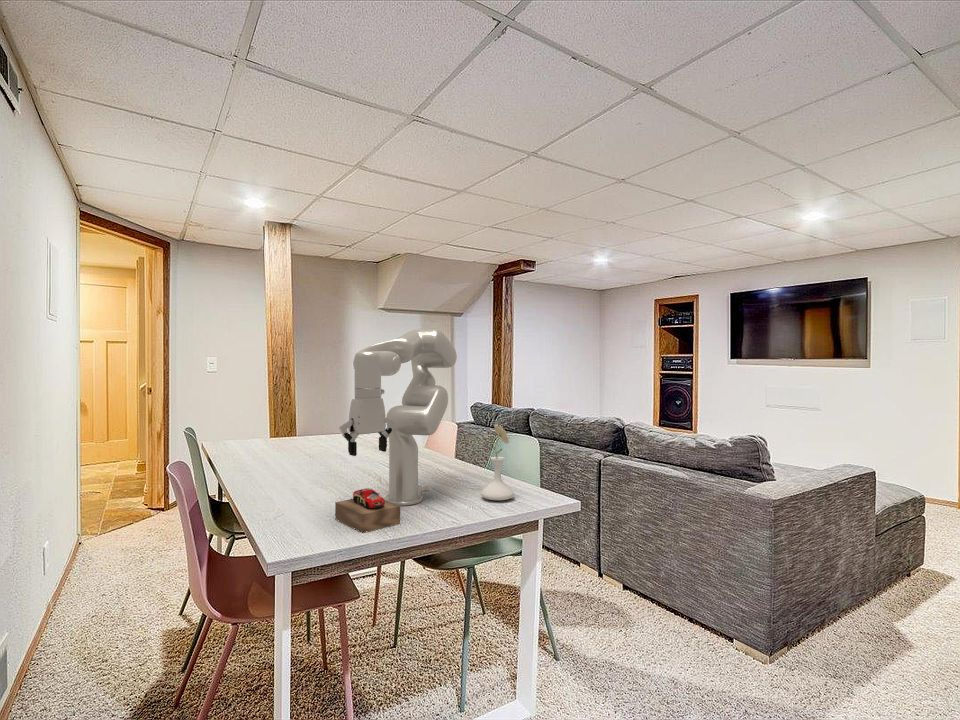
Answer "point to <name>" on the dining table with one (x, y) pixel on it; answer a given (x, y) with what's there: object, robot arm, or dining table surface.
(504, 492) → the flower in vase
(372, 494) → the race car
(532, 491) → the dining table surface
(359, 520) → the walnut riser block
